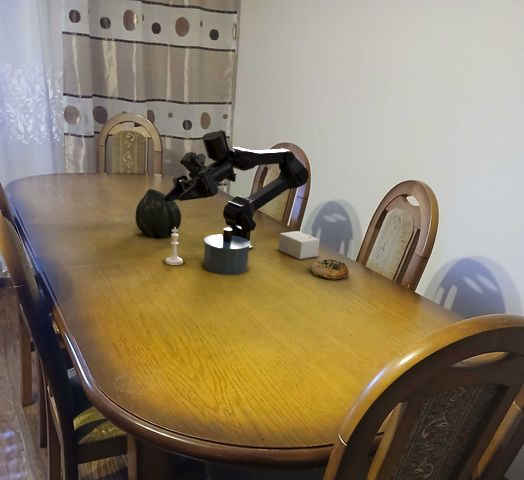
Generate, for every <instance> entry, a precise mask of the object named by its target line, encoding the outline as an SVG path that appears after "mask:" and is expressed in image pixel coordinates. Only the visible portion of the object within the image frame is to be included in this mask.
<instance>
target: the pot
mask: <svg viewBox="0 0 524 480" xmlns="http://www.w3.org/2000/svg"><path fill="white" fill-rule="evenodd" d="M203 249H204V253H203V266H204V268H205V269H206V270H207V271H209V272H212V273H216V274H222V275H238V274H243V273H244V272H246V271H247V269H248V261H249V250H250V249H249V248H247V249H243V250H221V249H216V248H212V247H209V246H207V245H206V244H205V243H204V248H203Z"/></svg>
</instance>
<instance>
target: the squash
mask: <svg viewBox="0 0 524 480" xmlns="http://www.w3.org/2000/svg"><path fill="white" fill-rule="evenodd" d="M166 195H167V193H164V192H162V191H160V190H157V189H153V188H149V189H148V190H147V191H146V192H145V194H144V195H143V197H141V199H140V200H139V202H138V204H137V206H136V209H135V224H136V226H137V228H138V230H139V231H140V232H141V233H143V234H144V235H149V236H150V237H153V238H155V237H160V238H165V237H167V236H168V235H171V234H173V233H174V232H173V231H172V230H174V227H176V230H179V228H180V226H181V224H182V212H181V209H180V206H179V204H178V203H177V201H176V200H174V201H167V202H165V201H164V199H163V198H164V197H165V196H166Z"/></svg>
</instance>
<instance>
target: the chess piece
mask: <svg viewBox="0 0 524 480" xmlns="http://www.w3.org/2000/svg"><path fill="white" fill-rule="evenodd" d="M172 231H173V232H174V233H172V234H170V235H171V239H172V241H171V242H170V244H171V245H172V249H171V255H169V256H168V257H166V258H165V263H166V265H172V266H179V265H182V264H183V263H184V260H183V258H181V257H179V256H178V248H177V247H178V246H177V245H179V242H178V239H179V234H178V232H179V229H177V230H176V227H174V230H172Z"/></svg>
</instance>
